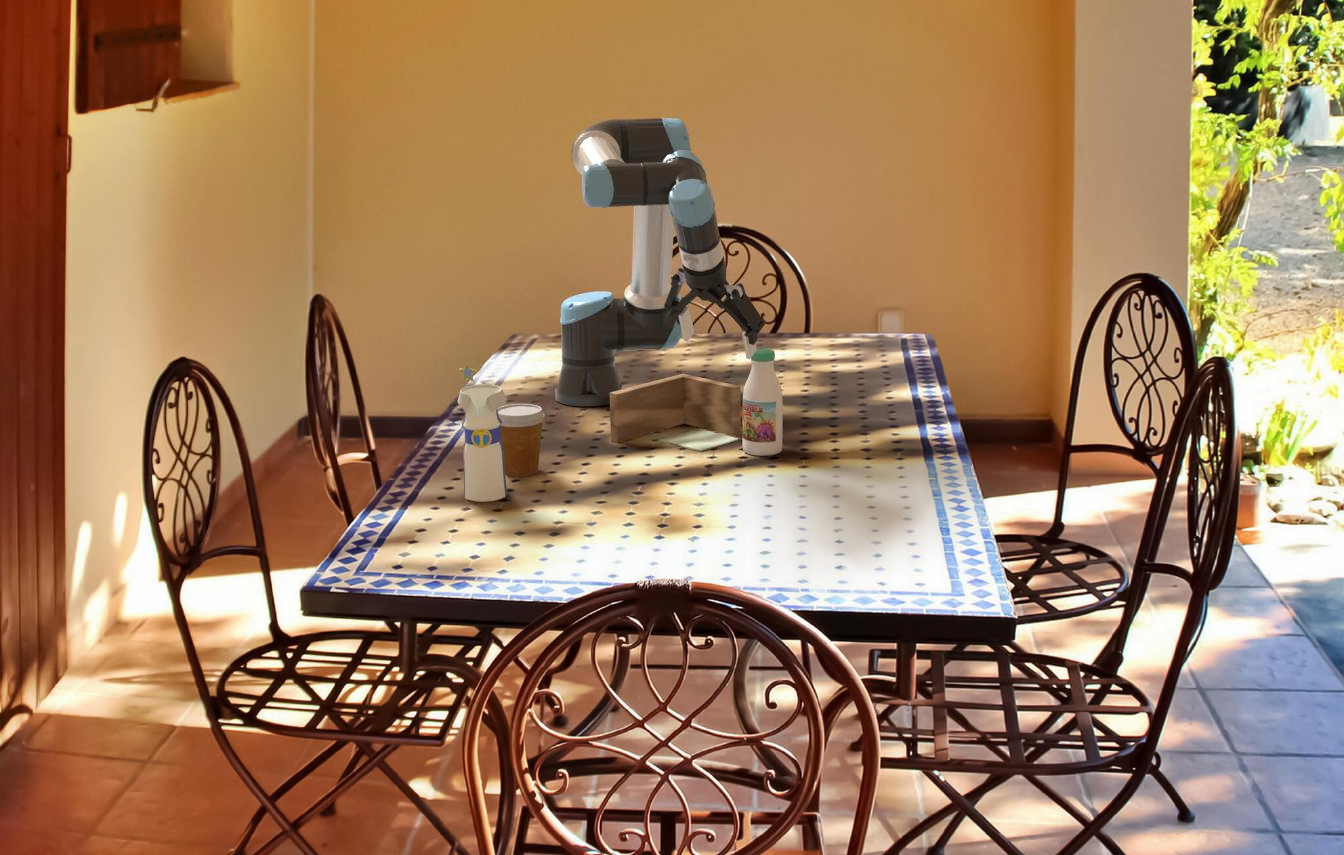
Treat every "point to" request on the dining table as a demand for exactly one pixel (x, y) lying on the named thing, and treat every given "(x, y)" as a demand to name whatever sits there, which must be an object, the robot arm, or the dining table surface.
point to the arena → (678, 411)
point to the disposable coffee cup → (521, 437)
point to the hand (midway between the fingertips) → (720, 345)
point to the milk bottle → (762, 407)
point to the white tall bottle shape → (482, 440)
